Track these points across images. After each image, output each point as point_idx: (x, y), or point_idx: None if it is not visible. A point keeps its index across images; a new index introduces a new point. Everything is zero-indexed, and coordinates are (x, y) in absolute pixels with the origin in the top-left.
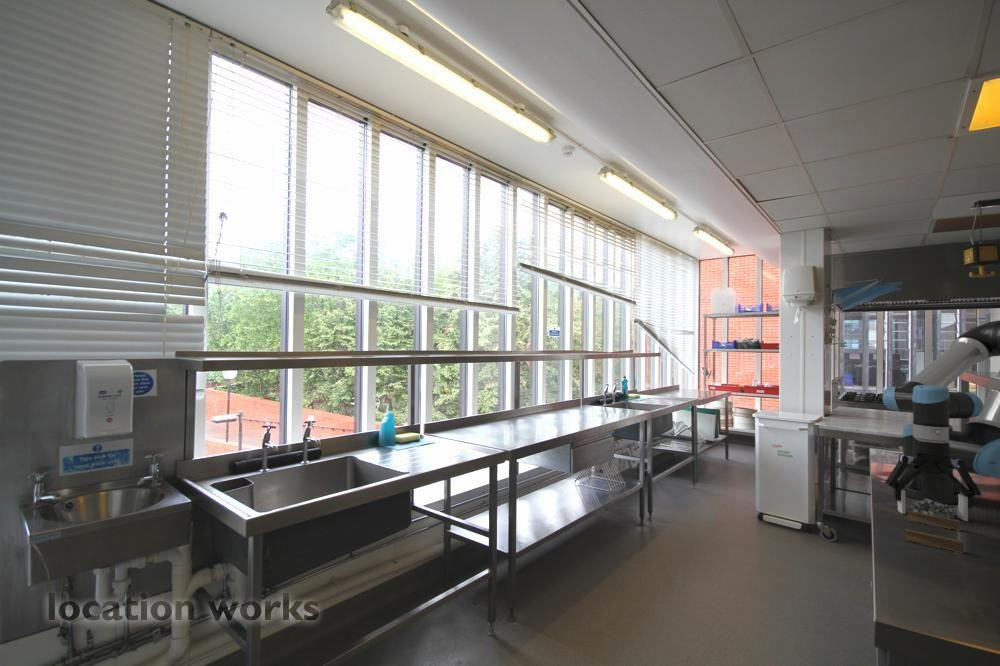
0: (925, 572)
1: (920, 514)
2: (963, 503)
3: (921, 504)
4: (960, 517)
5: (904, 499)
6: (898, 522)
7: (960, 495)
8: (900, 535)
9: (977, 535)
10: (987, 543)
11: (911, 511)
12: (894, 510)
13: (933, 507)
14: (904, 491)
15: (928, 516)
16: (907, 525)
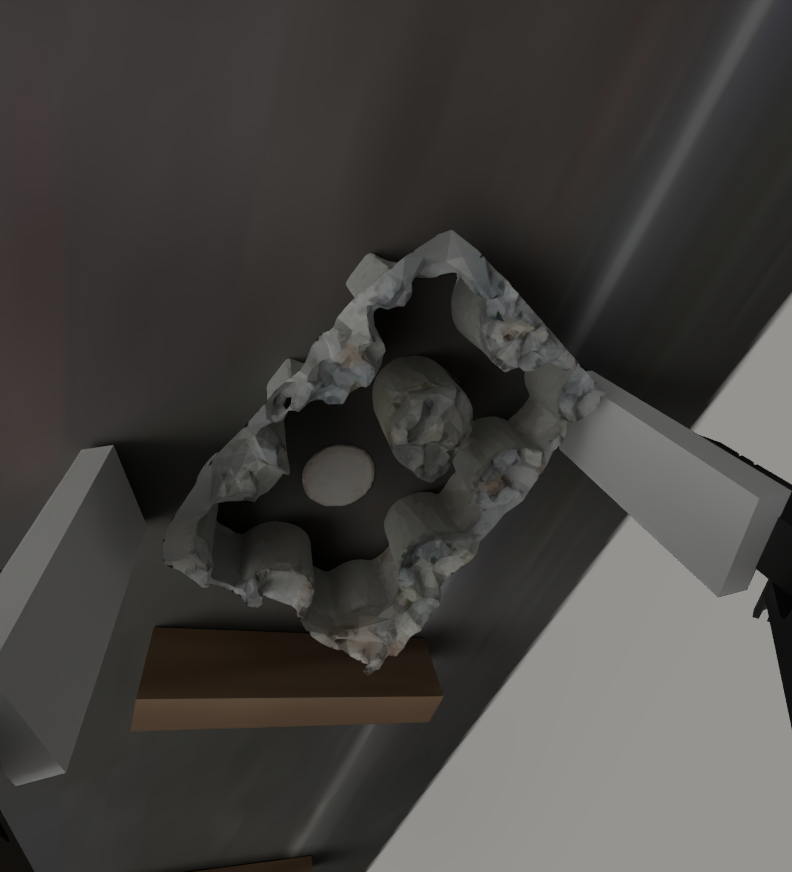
0: None
1: (220, 726)
2: (660, 528)
3: (322, 397)
4: None
5: (95, 653)
6: None
7: (738, 534)
8: (84, 862)
9: (475, 663)
10: (458, 732)
11: (162, 705)
12: (52, 426)
13: (405, 463)
14: (57, 766)
15: (270, 721)
16: None
